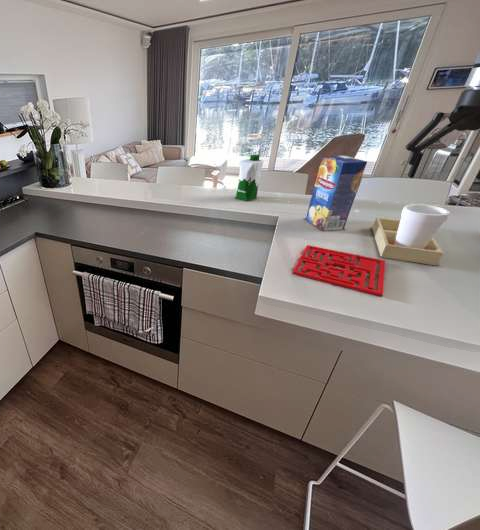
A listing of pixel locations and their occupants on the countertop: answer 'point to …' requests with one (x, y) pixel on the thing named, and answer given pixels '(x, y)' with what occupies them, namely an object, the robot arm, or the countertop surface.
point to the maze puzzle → (364, 266)
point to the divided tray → (385, 241)
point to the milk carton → (249, 178)
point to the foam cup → (419, 225)
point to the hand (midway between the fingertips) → (443, 177)
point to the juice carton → (335, 191)
